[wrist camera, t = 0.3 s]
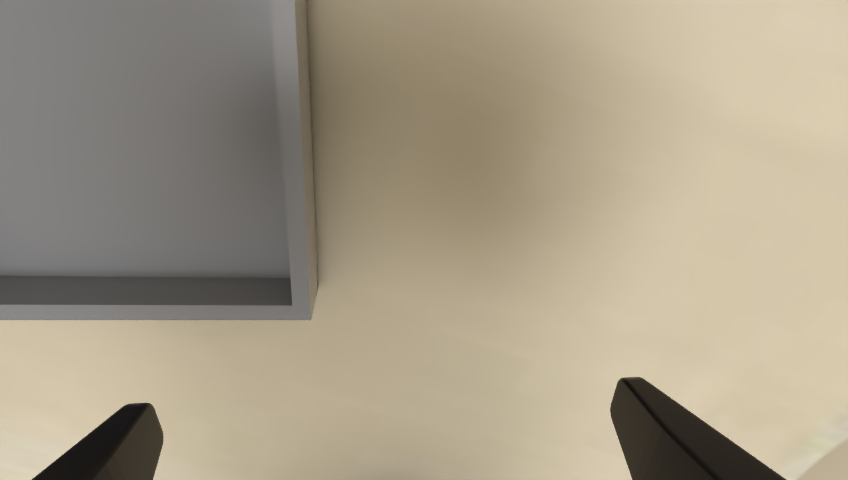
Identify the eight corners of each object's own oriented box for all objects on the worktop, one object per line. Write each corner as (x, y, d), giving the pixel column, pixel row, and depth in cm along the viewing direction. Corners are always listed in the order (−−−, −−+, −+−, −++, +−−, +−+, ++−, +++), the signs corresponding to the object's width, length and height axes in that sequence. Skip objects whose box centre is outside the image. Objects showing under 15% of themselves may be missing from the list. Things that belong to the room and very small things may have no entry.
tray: (318, 285, 24) (311, 319, 22) (-30, 283, 23) (-84, 319, 20) (302, -99, 17) (288, -119, 14) (-213, -148, 15) (-338, -181, 13)
